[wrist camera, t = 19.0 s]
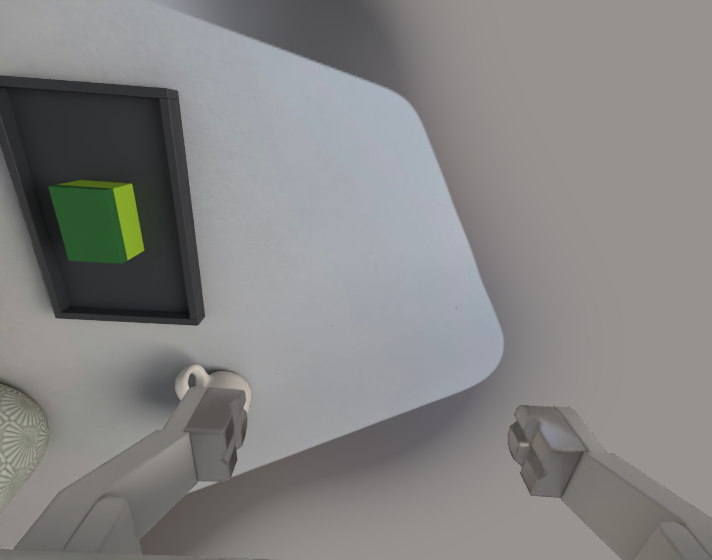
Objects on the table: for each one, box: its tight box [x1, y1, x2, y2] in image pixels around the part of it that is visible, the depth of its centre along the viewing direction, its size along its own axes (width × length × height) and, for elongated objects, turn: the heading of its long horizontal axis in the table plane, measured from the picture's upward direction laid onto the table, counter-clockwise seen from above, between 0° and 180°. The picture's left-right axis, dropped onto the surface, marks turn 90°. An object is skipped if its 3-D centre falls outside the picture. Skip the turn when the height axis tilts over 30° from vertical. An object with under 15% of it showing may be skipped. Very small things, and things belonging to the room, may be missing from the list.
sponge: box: [48, 180, 144, 264], centre depth 34 cm, size 7×5×4 cm
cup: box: [175, 364, 251, 451], centre depth 41 cm, size 11×8×8 cm
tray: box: [0, 76, 205, 325], centre depth 35 cm, size 24×16×2 cm, turn 176°
